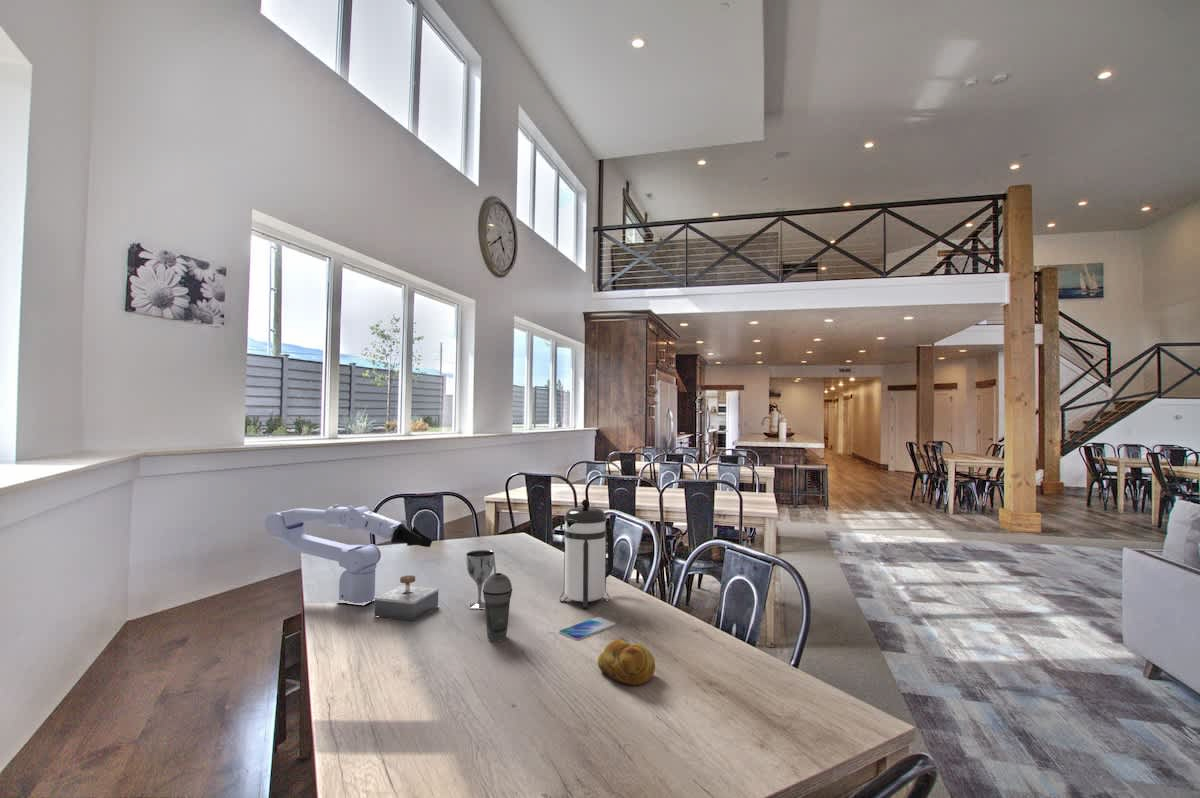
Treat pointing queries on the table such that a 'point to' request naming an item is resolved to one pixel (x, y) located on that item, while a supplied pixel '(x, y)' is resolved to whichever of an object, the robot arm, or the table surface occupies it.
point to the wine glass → (479, 570)
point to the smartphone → (587, 628)
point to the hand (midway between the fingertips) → (425, 542)
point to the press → (406, 603)
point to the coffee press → (586, 554)
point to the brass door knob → (407, 582)
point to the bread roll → (627, 662)
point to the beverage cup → (497, 604)
